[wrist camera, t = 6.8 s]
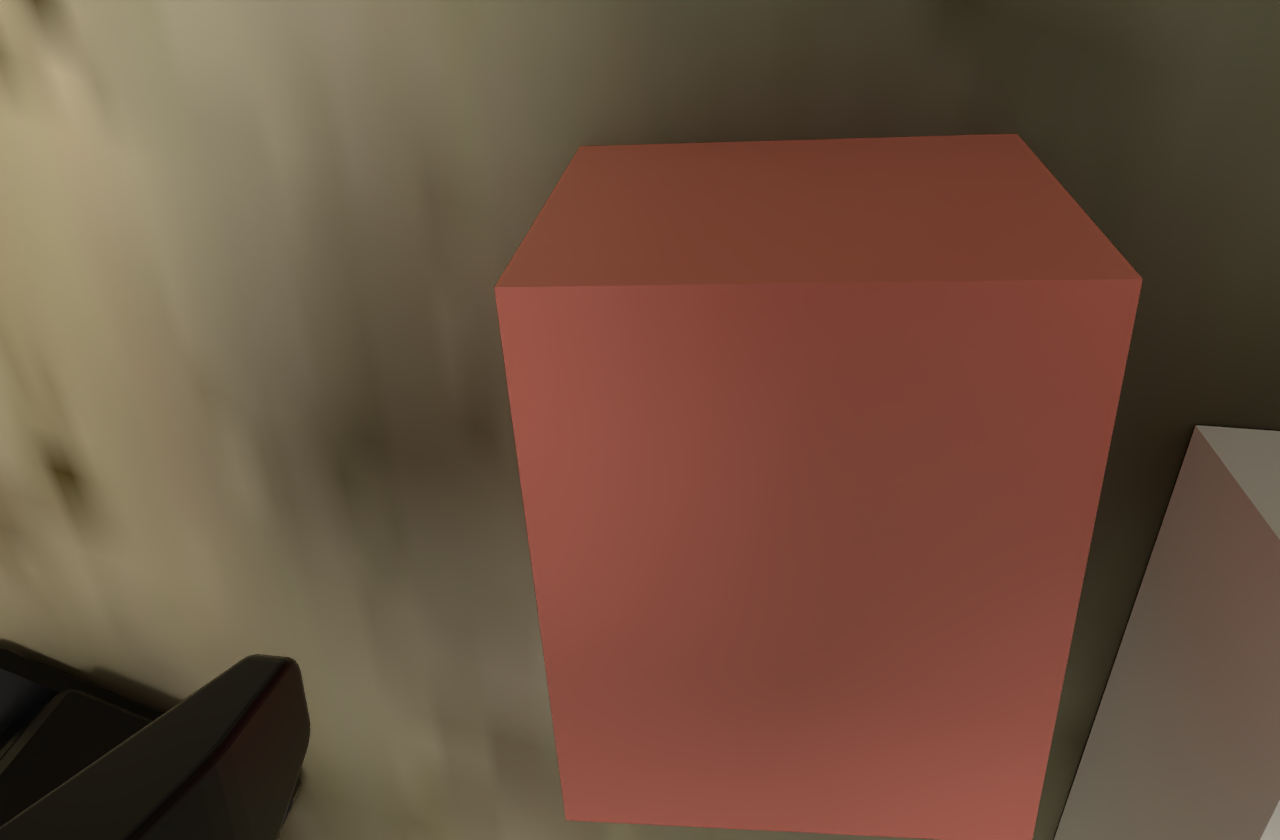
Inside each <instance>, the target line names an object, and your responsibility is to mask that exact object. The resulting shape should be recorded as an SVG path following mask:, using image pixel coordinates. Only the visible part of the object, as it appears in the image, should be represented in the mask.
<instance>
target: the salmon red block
mask: <svg viewBox="0 0 1280 840" xmlns="http://www.w3.org/2000/svg"><path fill="white" fill-rule="evenodd" d="M1142 281H1143V279H1142V278H1141V276H1140V275H1139V274H1138V273H1137V272H1136V271H1135V269H1134V268H1133V267H1132V266H1131V265H1130V264H1129V263H1128V261H1127V260H1126V259H1125V258H1124V257H1123V256H1122V254H1121V253H1120V252H1119V251H1118V250H1117V249H1116V247H1115V246H1114V245H1113V244H1112V243H1111V242H1110V241H1109V239H1108V238H1107V237H1106V236H1105V235H1104V234H1103V232H1102V231H1101V230H1100V229H1099V228H1098V227H1097V226H1096V224H1095V223H1094V222H1093V221H1092V220H1091V219H1090V217H1089V216H1088V215H1087V214H1086V213H1085V212H1084V210H1083V209H1082V208H1081V207H1080V206H1079V205H1078V204H1077V202H1076V201H1075V200H1074V199H1073V198H1072V197H1071V195H1070V194H1069V193H1068V192H1067V191H1066V190H1065V189H1064V187H1063V186H1062V185H1061V184H1060V183H1059V182H1058V180H1057V179H1056V178H1055V177H1054V176H1053V175H1052V173H1051V172H1050V171H1049V170H1048V169H1047V168H1046V167H1045V165H1044V164H1043V163H1042V162H1041V161H1040V160H1039V158H1038V157H1037V156H1036V155H1035V154H1034V153H1033V152H1032V150H1031V149H1030V148H1029V147H1028V146H1027V145H1026V143H1025V142H1024V141H1023V140H1022V139H1021V138H1020V137H1019V135H1018V134H988V135H953V136H918V137H883V138H848V139H813V140H778V141H744V142H709V143H674V144H639V145H604V146H580V147H579V149H578V150H577V152H576V154H575V155H574V157H573V159H572V160H571V162H570V163H569V165H568V167H567V168H566V170H565V172H564V173H563V175H562V177H561V178H560V180H559V182H558V183H557V185H556V187H555V188H554V190H553V191H552V193H551V195H550V196H549V198H548V200H547V201H546V203H545V205H544V206H543V208H542V210H541V211H540V213H539V214H538V216H537V218H536V219H535V221H534V223H533V224H532V226H531V228H530V229H529V231H528V233H527V234H526V236H525V237H524V239H523V241H522V242H521V244H520V246H519V247H518V249H517V251H516V252H515V254H514V256H513V257H512V259H511V261H510V262H509V264H508V265H507V267H506V269H505V270H504V272H503V274H502V275H501V277H500V279H499V280H498V282H497V284H496V285H495V287H494V289H495V296H496V304H497V311H498V319H499V326H500V334H501V341H502V348H503V356H504V363H505V371H506V378H507V386H508V393H509V400H510V408H511V415H512V423H513V430H514V438H515V445H516V453H517V460H518V467H519V475H520V482H521V490H522V497H523V505H524V512H525V519H526V527H527V534H528V542H529V549H530V557H531V564H532V571H533V579H534V586H535V594H536V601H537V609H538V616H539V623H540V631H541V638H542V646H543V653H544V661H545V668H546V675H547V683H548V690H549V698H550V705H551V713H552V720H553V727H554V735H555V742H556V750H557V757H558V765H559V772H560V780H561V787H562V794H563V802H564V809H565V817H566V820H571V821H590V822H610V823H629V824H649V825H668V826H688V827H707V828H727V829H746V830H765V831H785V832H804V833H824V834H843V835H863V836H882V837H902V838H921V839H941V840H1032V839H1033V834H1034V829H1035V823H1036V818H1037V813H1038V808H1039V803H1040V798H1041V793H1042V788H1043V783H1044V778H1045V773H1046V768H1047V763H1048V758H1049V752H1050V747H1051V742H1052V737H1053V732H1054V727H1055V722H1056V717H1057V712H1058V707H1059V702H1060V697H1061V692H1062V687H1063V681H1064V676H1065V671H1066V666H1067V661H1068V656H1069V651H1070V646H1071V641H1072V636H1073V631H1074V626H1075V621H1076V616H1077V610H1078V605H1079V600H1080V595H1081V590H1082V585H1083V580H1084V575H1085V570H1086V565H1087V560H1088V555H1089V550H1090V545H1091V539H1092V534H1093V529H1094V524H1095V519H1096V514H1097V509H1098V504H1099V499H1100V494H1101V489H1102V484H1103V479H1104V474H1105V468H1106V463H1107V458H1108V453H1109V448H1110V443H1111V438H1112V433H1113V428H1114V423H1115V418H1116V413H1117V408H1118V402H1119V397H1120V392H1121V387H1122V382H1123V377H1124V372H1125V367H1126V362H1127V357H1128V352H1129V347H1130V342H1131V337H1132V331H1133V326H1134V321H1135V316H1136V311H1137V306H1138V301H1139V296H1140V291H1141V286H1142Z"/></svg>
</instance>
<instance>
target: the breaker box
mask: <svg viewBox="0 0 1280 840" xmlns="http://www.w3.org/2000/svg"><path fill="white" fill-rule="evenodd" d="M1054 840H1280V431H1270V430H1256V429H1242V428H1228V427H1214V426H1201V425H1196V426H1195V429H1194V431H1193V434H1192V437H1191V440H1190V443H1189V446H1188V449H1187V452H1186V455H1185V458H1184V461H1183V464H1182V467H1181V469H1180V472H1179V475H1178V478H1177V481H1176V484H1175V487H1174V490H1173V493H1172V496H1171V499H1170V502H1169V505H1168V507H1167V510H1166V513H1165V516H1164V519H1163V522H1162V525H1161V528H1160V531H1159V534H1158V537H1157V540H1156V543H1155V545H1154V548H1153V551H1152V554H1151V557H1150V560H1149V563H1148V566H1147V569H1146V572H1145V575H1144V578H1143V581H1142V583H1141V586H1140V589H1139V592H1138V595H1137V598H1136V601H1135V604H1134V607H1133V610H1132V613H1131V616H1130V619H1129V621H1128V624H1127V627H1126V630H1125V633H1124V636H1123V639H1122V642H1121V645H1120V648H1119V651H1118V654H1117V657H1116V659H1115V662H1114V665H1113V668H1112V671H1111V674H1110V677H1109V680H1108V683H1107V686H1106V689H1105V692H1104V695H1103V697H1102V700H1101V703H1100V706H1099V709H1098V712H1097V715H1096V718H1095V721H1094V724H1093V727H1092V730H1091V732H1090V735H1089V738H1088V741H1087V744H1086V747H1085V750H1084V753H1083V756H1082V759H1081V762H1080V765H1079V768H1078V770H1077V773H1076V776H1075V779H1074V782H1073V785H1072V788H1071V791H1070V794H1069V797H1068V800H1067V803H1066V806H1065V808H1064V811H1063V814H1062V817H1061V820H1060V823H1059V826H1058V829H1057V832H1056V835H1055V838H1054Z"/></svg>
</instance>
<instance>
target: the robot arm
mask: <svg viewBox="0 0 1280 840" xmlns="http://www.w3.org/2000/svg"><path fill="white" fill-rule="evenodd" d="M309 737H310V719H309V713H308V708H307V703H306V697H305V692H304V687H303V681H302V676H301V671H300V668H299V665H298V664H297V662H296V661H295V660H294V659H292V658H289V657H281V656H271V655H260V654H255V655H250V656H248V657H246V658H244V659H242V660H241V661H239V662H238V663H236V664H235V665H233V666H232V667H231V668H229V669H228V670H226V671H225V672H223V673H222V674H220V675H219V676H218V677H216V678H215V679H213V680H212V681H210V682H209V683H207V684H206V685H205V686H203V687H202V688H200V689H199V690H197V691H196V692H194V693H193V694H192V695H190V696H189V697H187V698H186V699H184V700H183V701H182V702H180V703H179V704H177V705H176V706H174V707H173V708H171V709H170V710H169V711H167V712H166V713H164V714H161V713H158V712H156V711H153V710H151V709H148V708H146V707H144V706H141V705H139V704H136V703H134V702H132V701H129V700H127V699H124V698H122V697H120V696H117V695H115V694H112V693H110V692H107V691H105V690H103V689H100V688H98V687H95V686H93V685H91V684H88V683H86V682H83V681H81V680H78V679H76V678H74V677H71V676H69V675H66V674H64V673H62V672H59V671H57V670H54V669H52V668H49V667H47V666H45V665H42V664H40V663H37V662H35V661H33V660H30V659H28V658H25V657H23V656H20V655H18V654H16V653H13V652H11V651H8V650H6V649H3V648H0V840H277V839H278V836H279V833H280V830H281V828H282V826H283V824H284V822H285V820H286V818H287V815H288V813H289V811H290V809H291V807H292V805H293V803H294V801H295V799H296V797H297V795H298V793H299V791H300V787H301V781H300V779H299V777H298V775H299V772H300V769H301V766H302V763H303V760H304V757H305V754H306V751H307V747H308V743H309Z"/></svg>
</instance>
